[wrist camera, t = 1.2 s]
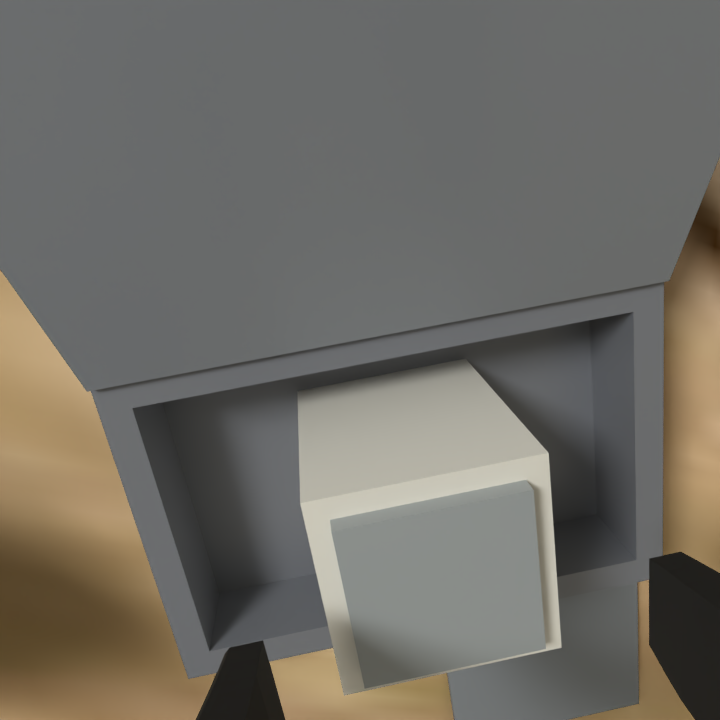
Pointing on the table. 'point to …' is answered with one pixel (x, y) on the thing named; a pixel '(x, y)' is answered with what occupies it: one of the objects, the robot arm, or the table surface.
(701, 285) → the table surface
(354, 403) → the module
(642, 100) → the case
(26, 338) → the table surface
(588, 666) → the pad
